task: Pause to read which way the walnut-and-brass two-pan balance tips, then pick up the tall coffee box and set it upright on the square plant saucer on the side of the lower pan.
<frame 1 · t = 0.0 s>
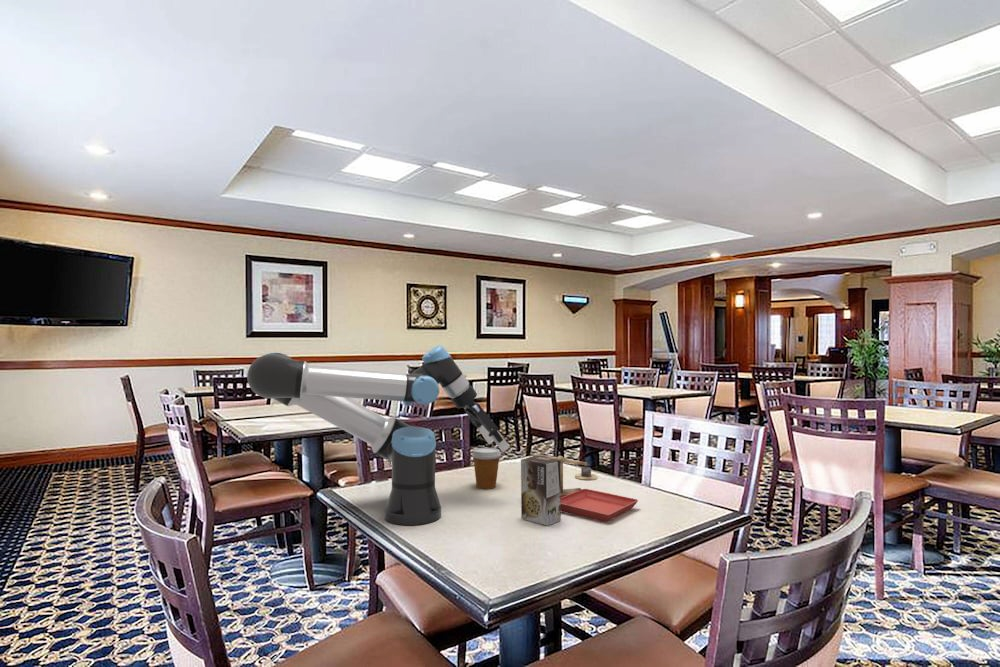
hand: (499, 445, 171), 15 cm above the table, tool tilted 35°, fingers open, 13 cm apart
plant saucer: (595, 512, 155), on the table
coffee box: (540, 520, 146), on the table
balance: (560, 497, 168), on the table
disposable coffee cup: (486, 487, 180), on the table
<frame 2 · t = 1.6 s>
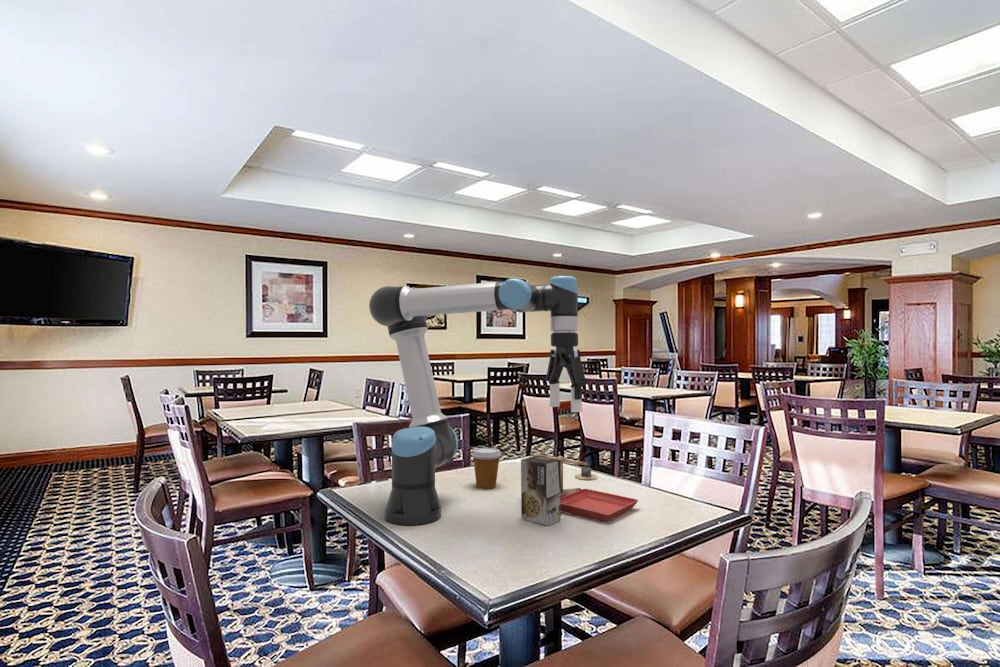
hand: (565, 409, 151), 29 cm above the table, tool pointing down, fingers open, 13 cm apart
nothing on the table moved.
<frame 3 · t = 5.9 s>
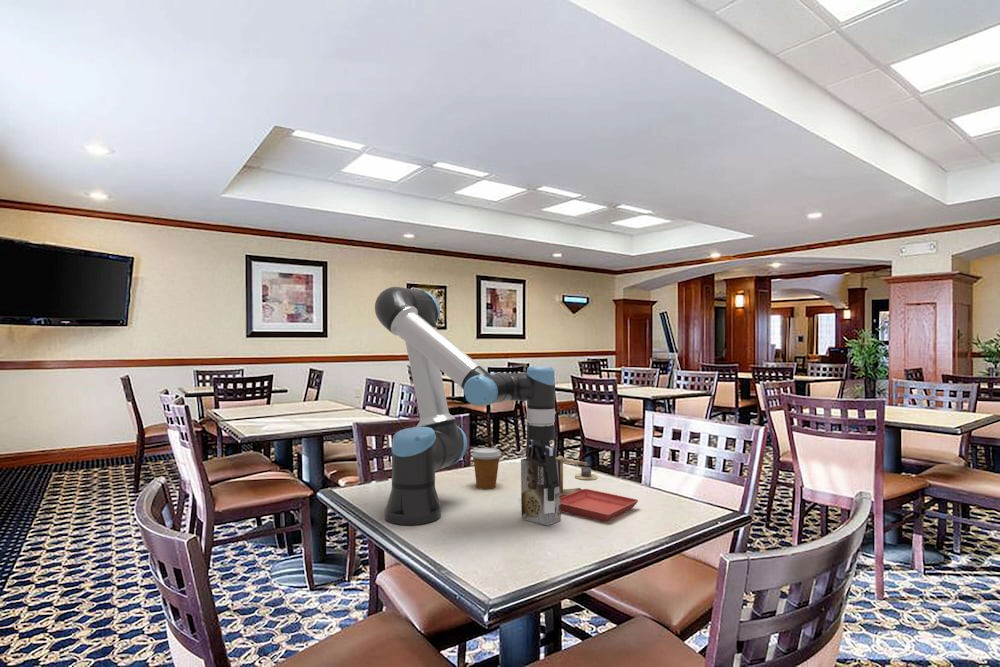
hand: (540, 506, 147), 3 cm above the table, tool pointing down, fingers closed on coffee box, 11 cm apart
coffee box: (540, 520, 146), on the table, touching gripper
everything else where it was.
when the fingers open (8 cm above the table, at t = 13.4 s): coffee box drops 2 cm, point 3 cm above the table.
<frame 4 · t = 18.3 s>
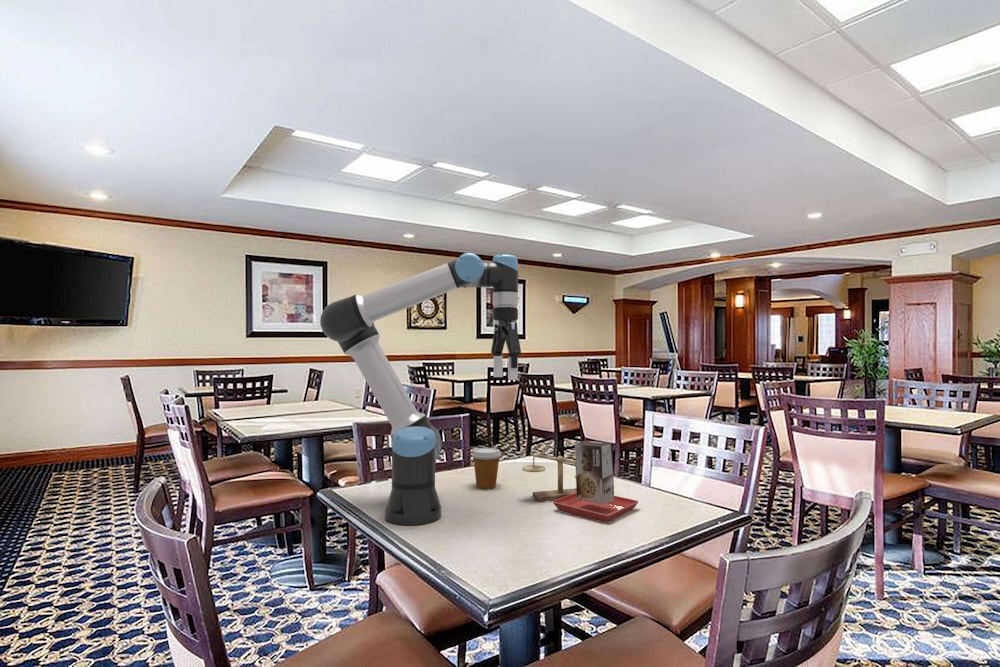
hand: (505, 378, 163), 37 cm above the table, tool pointing down, fingers open, 13 cm apart
coffee box: (595, 500, 155), point 3 cm above the table
everything else where it was.
at the end: coffee box inside the target area in the plant saucer (0.2 cm from its centre), point 3.4 cm above the plant saucer's base; coffee box tilted 1°; the gripper is holding nothing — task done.
